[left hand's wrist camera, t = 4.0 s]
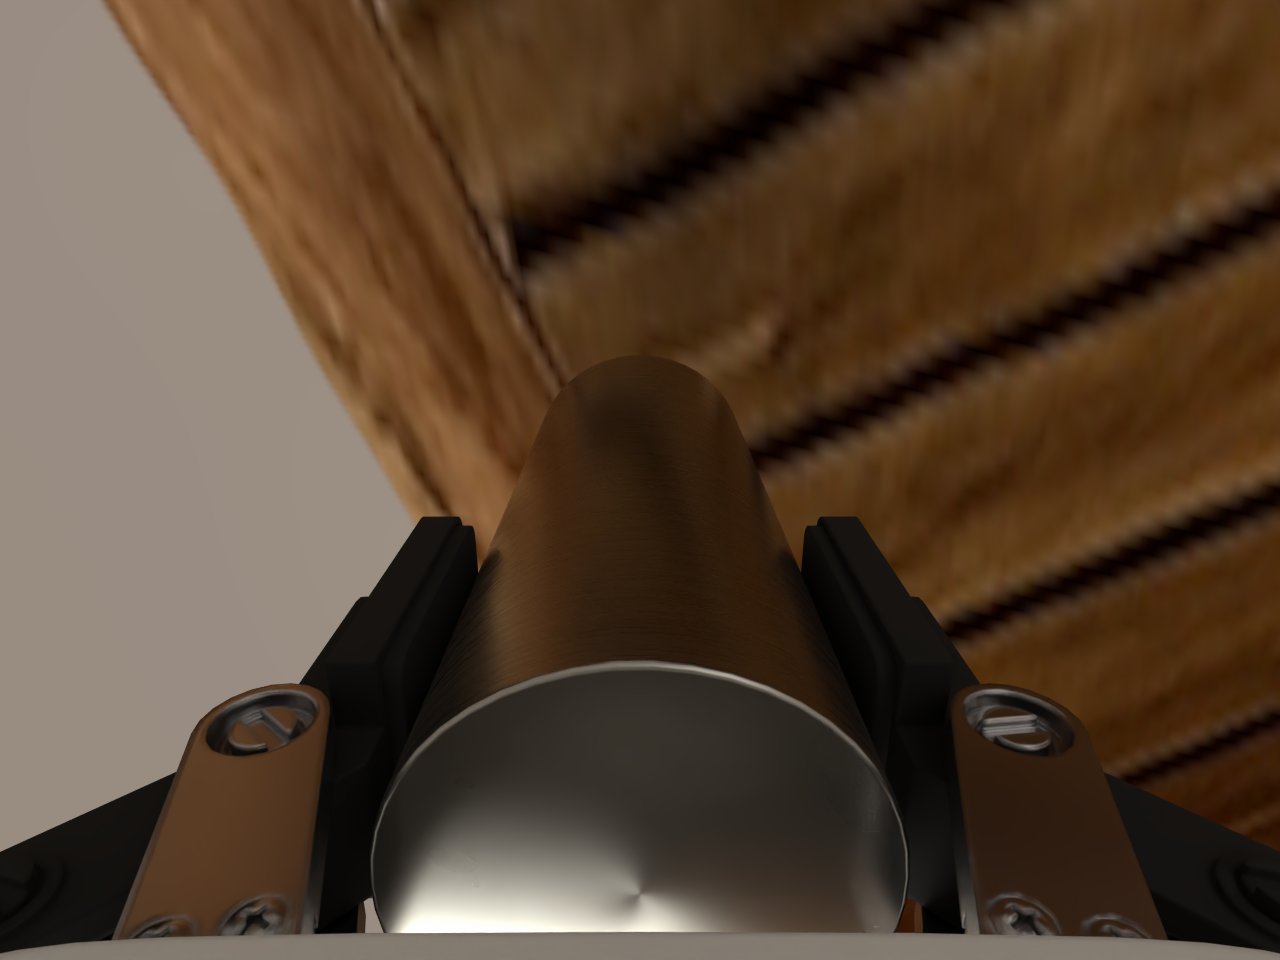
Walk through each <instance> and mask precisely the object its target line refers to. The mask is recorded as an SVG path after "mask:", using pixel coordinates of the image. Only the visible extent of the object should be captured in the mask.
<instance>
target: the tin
mask: <svg viewBox="0 0 1280 960" xmlns="http://www.w3.org/2000/svg"><path fill="white" fill-rule="evenodd" d="M909 878H910V847H909V840H908V835H907V831H906V826H905V821H904V817H903V814H902V812H901V809H900V807H899V804H898V802H897V800H896V797H895V795H894V792H893V790H892V787H891V785H890V783H889V780H888V778H887V776H886V773H885V771H884V768H883V766H882V764H881V761H880V759H879V757H878V754H877V752H876V750H875V747H874V745H873V742H872V740H871V738H870V735H869V733H868V731H867V728H866V726H865V724H864V721H863V719H862V716H861V714H860V712H859V709H858V707H857V705H856V702H855V700H854V698H853V695H852V693H851V690H850V688H849V686H848V683H847V681H846V679H845V676H844V674H843V672H842V669H841V667H840V664H839V662H838V660H837V657H836V655H835V653H834V650H833V648H832V646H831V643H830V641H829V638H828V636H827V634H826V631H825V629H824V627H823V624H822V622H821V620H820V617H819V615H818V612H817V610H816V608H815V605H814V603H813V601H812V598H811V596H810V594H809V591H808V589H807V586H806V584H805V582H804V579H803V577H802V575H801V572H800V570H799V568H798V565H797V563H796V560H795V558H794V556H793V553H792V551H791V549H790V546H789V544H788V542H787V539H786V537H785V534H784V532H783V530H782V527H781V525H780V523H779V520H778V518H777V516H776V513H775V511H774V509H773V506H772V504H771V501H770V499H769V497H768V494H767V492H766V490H765V487H764V485H763V483H762V480H761V478H760V475H759V473H758V471H757V468H756V466H755V464H754V461H753V459H752V457H751V454H750V452H749V449H748V447H747V445H746V442H745V440H744V438H743V435H742V433H741V431H740V428H739V426H738V423H737V421H736V419H735V416H734V414H733V412H732V410H731V408H730V406H729V405H728V403H727V401H726V399H725V398H724V397H723V396H722V394H721V393H720V392H719V390H718V389H717V388H716V387H715V386H714V385H713V384H712V383H711V382H710V381H709V380H707V379H706V378H705V377H703V376H702V375H701V374H699V373H698V372H696V371H695V370H693V369H691V368H689V367H687V366H686V365H683V364H681V363H678V362H676V361H673V360H669V359H665V358H661V357H655V356H646V355H636V356H625V357H618V358H614V359H611V360H607V361H604V362H601V363H599V364H597V365H595V366H592V367H590V368H589V369H587V370H585V371H584V372H582V373H580V374H579V375H578V376H576V377H575V378H574V379H573V380H571V381H570V382H569V383H568V384H567V385H566V386H565V387H564V388H563V389H562V390H561V391H560V393H559V394H558V395H557V397H556V398H555V400H554V401H553V402H552V404H551V406H550V408H549V410H548V412H547V413H546V416H545V418H544V420H543V423H542V425H541V427H540V430H539V432H538V434H537V437H536V439H535V441H534V444H533V446H532V448H531V451H530V453H529V456H528V458H527V460H526V463H525V465H524V467H523V470H522V472H521V474H520V477H519V479H518V481H517V484H516V486H515V488H514V491H513V493H512V495H511V498H510V500H509V502H508V505H507V507H506V510H505V512H504V514H503V517H502V519H501V521H500V524H499V526H498V528H497V531H496V533H495V535H494V538H493V540H492V542H491V545H490V547H489V549H488V552H487V554H486V557H485V559H484V561H483V564H482V566H481V568H480V571H479V573H478V575H477V578H476V580H475V582H474V585H473V587H472V589H471V592H470V594H469V596H468V599H467V601H466V603H465V606H464V608H463V611H462V613H461V615H460V618H459V620H458V622H457V625H456V627H455V629H454V632H453V634H452V636H451V639H450V641H449V643H448V646H447V648H446V650H445V653H444V655H443V658H442V660H441V662H440V665H439V667H438V669H437V672H436V674H435V676H434V679H433V681H432V683H431V686H430V688H429V690H428V693H427V695H426V697H425V700H424V702H423V704H422V707H421V709H420V712H419V714H418V716H417V719H416V721H415V723H414V726H413V728H412V730H411V733H410V735H409V737H408V740H407V742H406V744H405V747H404V749H403V751H402V754H401V756H400V758H399V761H398V763H397V766H396V768H395V770H394V773H393V775H392V777H391V780H390V782H389V784H388V787H387V789H386V791H385V794H384V796H383V798H382V801H381V804H380V807H379V810H378V813H377V816H376V819H375V822H374V825H373V830H372V836H371V843H370V849H369V879H370V887H371V892H372V897H373V902H374V907H375V911H376V914H377V916H378V919H379V921H380V924H381V927H382V930H383V932H384V933H492V932H788V933H895V932H896V930H897V928H898V926H899V923H900V920H901V917H902V913H903V910H904V907H905V904H906V900H907V893H908V886H909Z"/></svg>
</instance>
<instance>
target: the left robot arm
mask: <svg viewBox="0 0 1280 960" xmlns="http://www.w3.org/2000/svg"><path fill="white" fill-rule="evenodd" d="M477 575H478V565H477V553H476V541H475V532H474V528H473V526H463V525H462V521H461V519H460V517H422V518H421V519H420V521H419V522H418V524H417V525H416V527H415V528H414V530H413V531H412V533H411V534H410V536H409V537H408V539H407V540H406V542H405V543H404V545H403V546H402V548H401V549H400V551H399V552H398V554H397V555H396V557H395V558H394V560H393V561H392V563H391V564H390V566H389V567H388V569H387V570H386V572H385V573H384V575H383V576H382V578H381V579H380V580H379V582H378V583H377V585H376V587H375V588H374V589H373V591H372V592H371V594H370V595H369V597H360V598H359V599H358V600H357V601H356V602H355V604H354V606H353V607H352V608H351V610H350V611H349V613H348V614H347V615H346V617H345V619H344V620H343V621H342V623H341V624H340V626H339V627H338V629H337V630H336V631H335V633H334V634H333V636H332V637H331V639H330V640H329V641H328V643H327V644H326V646H325V647H324V649H323V650H322V652H321V653H320V655H319V656H318V657H317V659H316V660H315V662H314V663H313V665H312V666H311V667H310V669H309V670H308V672H307V673H306V675H305V676H304V677H303V679H302V681H301V682H300V683H299V684H292V683H289V684H276V685H269V686H265V687H260V688H256V689H252V690H249V691H247V692H244V693H242V694H239V695H237V696H234V697H232V698H230V699H228V700H226V701H225V702H223V703H221V704H220V705H218V706H216V707H215V708H213V709H212V710H211V711H210V712H209V713H208V714H206V715H205V716H204V717H203V718H202V719H201V720H200V721H199V722H198V724H197V725H196V727H195V729H194V730H193V732H192V733H191V736H190V738H189V741H188V743H187V746H186V749H185V751H184V754H183V756H182V759H181V761H180V764H179V767H178V769H177V772H175V773H173V774H171V775H168V776H166V777H164V778H162V779H160V780H157V781H155V782H153V783H151V784H149V785H146V786H144V787H142V788H140V789H138V790H135V791H133V792H131V793H129V794H127V795H124V796H122V797H120V798H118V799H116V800H114V801H111V802H109V803H107V804H105V805H102V806H100V807H98V808H96V809H94V810H91V811H89V812H87V813H85V814H83V815H80V816H78V817H76V818H74V819H72V820H69V821H67V822H65V823H63V824H61V825H59V826H56V827H54V828H52V829H50V830H47V831H45V832H43V833H41V834H39V835H36V836H34V837H32V838H30V839H28V840H25V841H23V842H21V843H19V844H17V845H14V846H12V847H10V848H8V849H6V850H3V851H1V852H0V960H1280V852H1278V851H1276V850H1274V849H1272V848H1270V847H1267V846H1265V845H1263V844H1261V843H1259V842H1256V841H1254V840H1252V839H1250V838H1248V837H1245V836H1243V835H1241V834H1239V833H1237V832H1234V831H1232V830H1230V829H1228V828H1226V827H1223V826H1221V825H1219V824H1217V823H1215V822H1212V821H1210V820H1208V819H1206V818H1204V817H1201V816H1199V815H1197V814H1195V813H1192V812H1190V811H1188V810H1186V809H1184V808H1181V807H1179V806H1177V805H1175V804H1173V803H1170V802H1168V801H1166V800H1164V799H1162V798H1159V797H1157V796H1155V795H1153V794H1151V793H1148V792H1146V791H1144V790H1142V789H1140V788H1137V787H1135V786H1133V785H1131V784H1129V783H1126V782H1124V781H1122V780H1120V779H1118V778H1115V777H1113V776H1111V775H1109V774H1107V773H1104V772H1103V769H1102V767H1101V764H1100V761H1099V759H1098V756H1097V754H1096V751H1095V748H1094V746H1093V743H1092V741H1091V738H1090V736H1089V733H1088V732H1087V730H1086V729H1085V727H1084V725H1083V724H1082V722H1081V721H1080V720H1079V719H1078V718H1077V717H1076V716H1075V715H1074V714H1072V713H1071V712H1070V711H1069V710H1068V709H1067V708H1065V707H1064V706H1062V705H1060V704H1059V703H1057V702H1055V701H1054V700H1052V699H1050V698H1048V697H1046V696H1043V695H1041V694H1038V693H1036V692H1033V691H1031V690H1028V689H1024V688H1020V687H1015V686H1011V685H1004V684H991V683H988V684H980V683H979V681H978V680H977V678H976V677H975V676H974V674H973V673H972V671H971V670H970V668H969V667H968V666H967V664H966V663H965V661H964V660H963V658H962V657H961V655H960V654H959V653H958V651H957V650H956V648H955V647H954V645H953V644H952V642H951V641H950V640H949V638H948V637H947V635H946V634H945V632H944V631H943V629H942V628H941V627H940V625H939V624H938V622H937V621H936V619H935V618H934V616H933V615H932V614H931V612H930V611H929V609H928V608H927V606H926V605H925V603H924V602H923V601H922V600H921V599H920V598H919V597H911V596H910V595H909V593H908V592H907V591H906V589H905V588H904V586H903V585H902V583H901V582H900V580H899V579H898V577H897V576H896V574H895V573H894V571H893V570H892V568H891V567H890V565H889V564H888V562H887V561H886V559H885V558H884V556H883V555H882V553H881V552H880V550H879V549H878V547H877V546H876V544H875V543H874V541H873V540H872V538H871V537H870V535H869V534H868V532H867V531H866V529H865V528H864V526H863V525H862V523H861V522H860V520H859V519H858V518H857V517H820V518H819V520H818V523H817V526H807V527H806V529H805V534H804V544H803V556H802V568H801V575H802V577H803V579H804V582H805V584H806V586H807V589H808V591H809V594H810V596H811V598H812V601H813V603H814V605H815V608H816V610H817V612H818V615H819V617H820V620H821V622H822V624H823V627H824V629H825V631H826V634H827V636H828V638H829V641H830V643H831V646H832V648H833V650H834V653H835V655H836V657H837V660H838V662H839V664H840V667H841V669H842V672H843V674H844V676H845V679H846V681H847V683H848V686H849V688H850V690H851V693H852V695H853V698H854V700H855V702H856V705H857V707H858V709H859V712H860V714H861V716H862V719H863V721H864V724H865V726H866V728H867V731H868V733H869V735H870V738H871V740H872V742H873V745H874V747H875V750H876V752H877V754H878V757H879V759H880V761H881V764H882V766H883V768H884V771H885V773H886V776H887V778H888V780H889V783H890V785H891V787H892V790H893V792H894V795H895V797H896V800H897V802H898V804H899V807H900V809H901V812H902V814H903V817H904V821H905V826H906V831H907V835H908V840H909V847H910V878H909V886H908V893H907V898H911V899H913V900H914V901H916V907H915V914H914V922H915V933H788V932H492V933H365V922H366V914H365V907H364V901H365V900H366V899H368V898H373V897H372V892H371V887H370V879H369V849H370V843H371V836H372V830H373V825H374V822H375V819H376V816H377V813H378V810H379V807H380V804H381V801H382V798H383V796H384V794H385V791H386V789H387V787H388V784H389V782H390V780H391V777H392V775H393V773H394V770H395V768H396V766H397V763H398V761H399V758H400V756H401V754H402V751H403V749H404V747H405V744H406V742H407V740H408V737H409V735H410V733H411V730H412V728H413V726H414V723H415V721H416V719H417V716H418V714H419V712H420V709H421V707H422V704H423V702H424V700H425V697H426V695H427V693H428V690H429V688H430V686H431V683H432V681H433V679H434V676H435V674H436V672H437V669H438V667H439V665H440V662H441V660H442V658H443V655H444V653H445V650H446V648H447V646H448V643H449V641H450V639H451V636H452V634H453V632H454V629H455V627H456V625H457V622H458V620H459V618H460V615H461V613H462V611H463V608H464V606H465V603H466V601H467V599H468V596H469V594H470V592H471V589H472V587H473V585H474V582H475V580H476V578H477Z"/></svg>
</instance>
